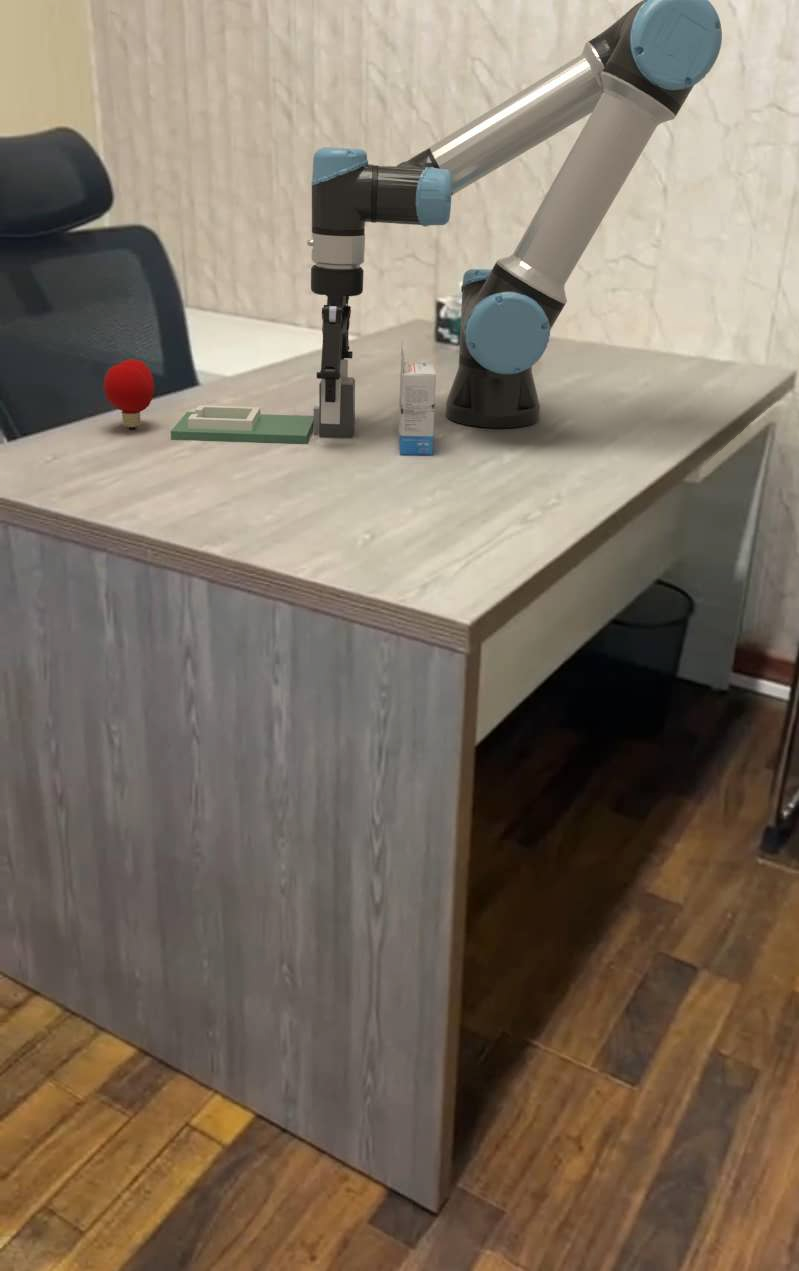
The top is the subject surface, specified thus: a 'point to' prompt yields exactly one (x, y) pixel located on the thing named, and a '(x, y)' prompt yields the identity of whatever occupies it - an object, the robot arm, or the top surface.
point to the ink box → (416, 407)
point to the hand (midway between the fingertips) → (334, 412)
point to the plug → (346, 413)
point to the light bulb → (129, 390)
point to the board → (242, 426)
